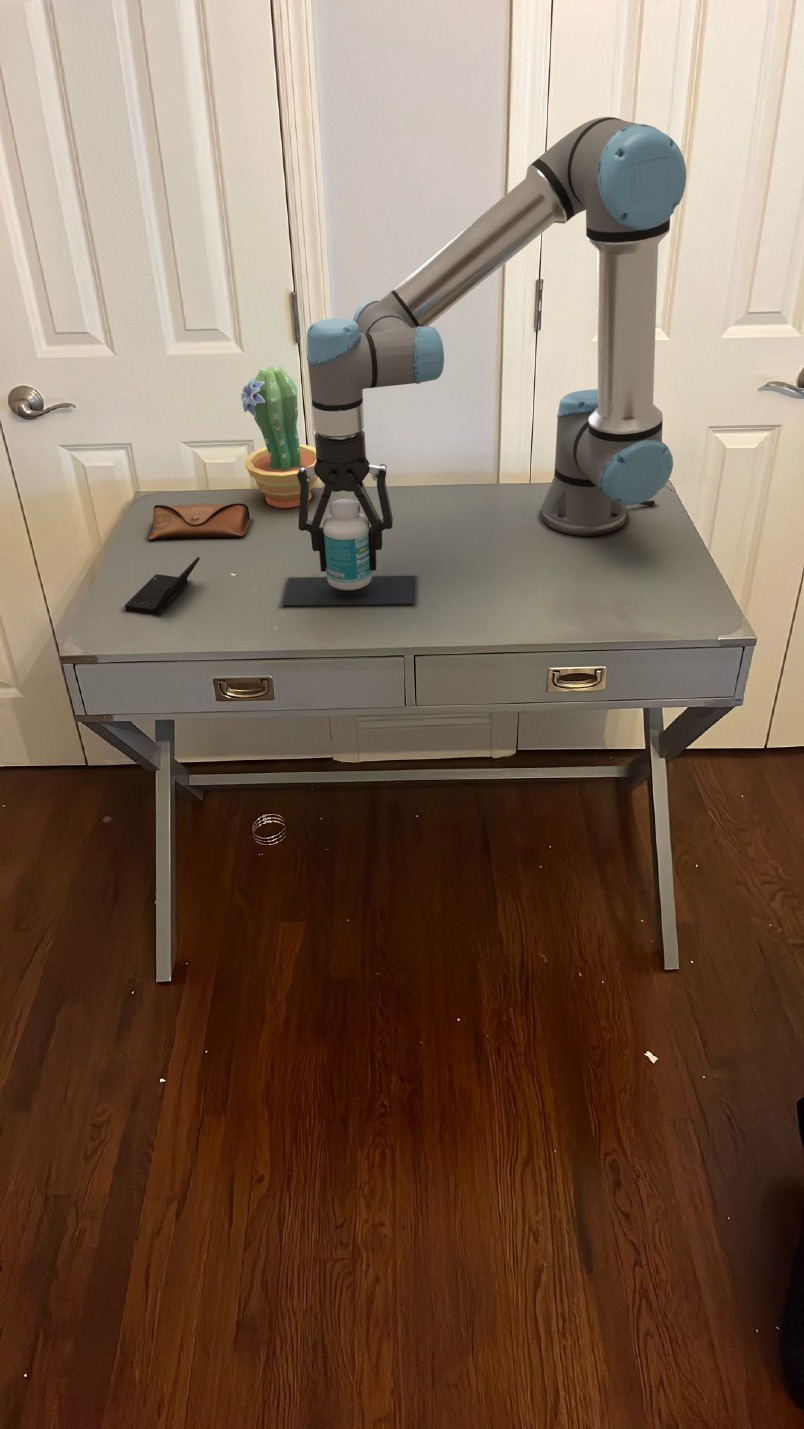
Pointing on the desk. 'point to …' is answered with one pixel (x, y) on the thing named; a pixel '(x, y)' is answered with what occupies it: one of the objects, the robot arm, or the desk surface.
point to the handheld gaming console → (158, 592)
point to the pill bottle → (347, 546)
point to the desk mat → (349, 592)
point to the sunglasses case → (200, 521)
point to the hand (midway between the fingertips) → (348, 566)
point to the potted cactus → (277, 437)
